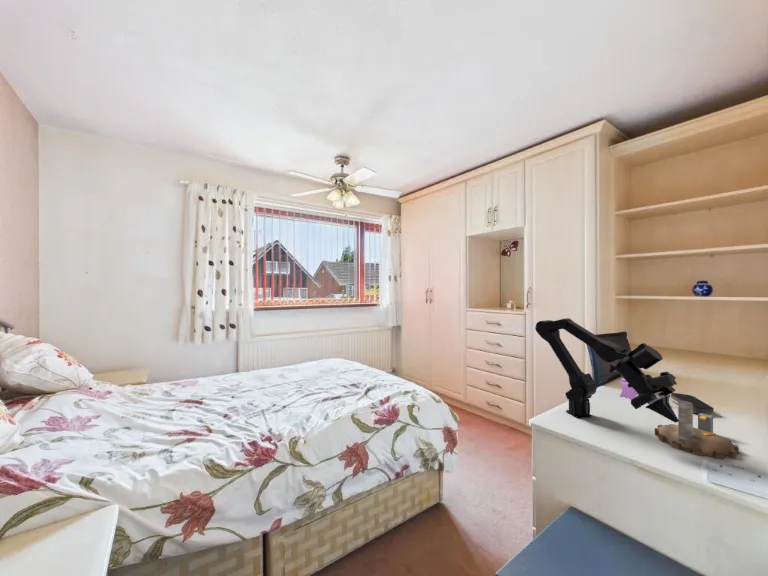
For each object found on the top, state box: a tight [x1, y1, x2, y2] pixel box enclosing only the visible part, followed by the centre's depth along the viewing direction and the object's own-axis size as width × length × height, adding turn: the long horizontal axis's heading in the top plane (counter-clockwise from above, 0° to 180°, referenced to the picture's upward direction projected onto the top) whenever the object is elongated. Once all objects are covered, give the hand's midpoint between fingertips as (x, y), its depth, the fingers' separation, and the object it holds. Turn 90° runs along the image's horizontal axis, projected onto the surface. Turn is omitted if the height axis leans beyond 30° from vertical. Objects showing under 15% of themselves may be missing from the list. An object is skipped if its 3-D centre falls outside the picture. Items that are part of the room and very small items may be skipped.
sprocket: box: [654, 401, 740, 460], centre depth 101 cm, size 19×19×14 cm
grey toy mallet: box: [697, 413, 714, 433], centre depth 107 cm, size 3×6×6 cm, turn 123°
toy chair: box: [619, 368, 643, 400], centre depth 143 cm, size 8×9×15 cm
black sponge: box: [670, 392, 715, 417], centre depth 130 cm, size 16×8×4 cm, turn 160°
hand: (677, 421), depth 98 cm, fingers closed, pressing on sprocket
